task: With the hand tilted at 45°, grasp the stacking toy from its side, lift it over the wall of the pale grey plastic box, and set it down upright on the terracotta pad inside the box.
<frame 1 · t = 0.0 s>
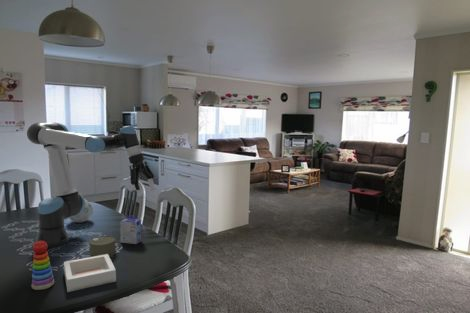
hand: (147, 193, 174), 28 cm above the table, tool tilted 20°, fingers open, 13 cm apart
ink cartridge box: (131, 242, 179), on the table
walled box: (89, 277, 139), on the table
stacking toy: (43, 286, 131), on the table
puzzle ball: (80, 222, 210), on the table
can: (102, 253, 163), on the table
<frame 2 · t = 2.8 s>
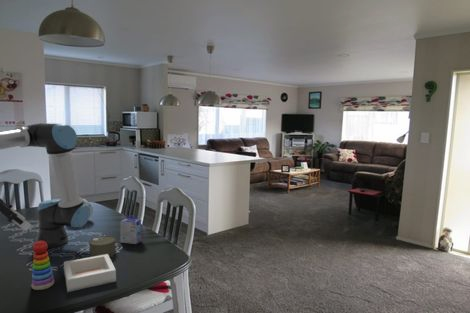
hand: (25, 224, 128), 25 cm above the table, tool tilted 40°, fingers open, 13 cm apart
nothing on the table moved.
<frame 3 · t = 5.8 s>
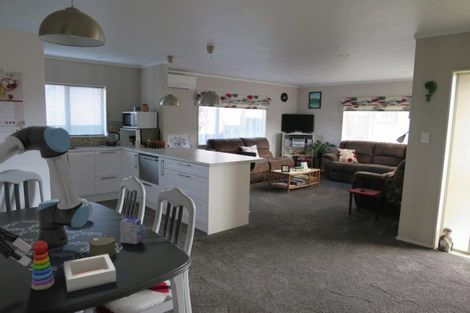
hand: (29, 256, 127), 14 cm above the table, tool tilted 45°, fingers open, 13 cm apart
nothing on the table moved.
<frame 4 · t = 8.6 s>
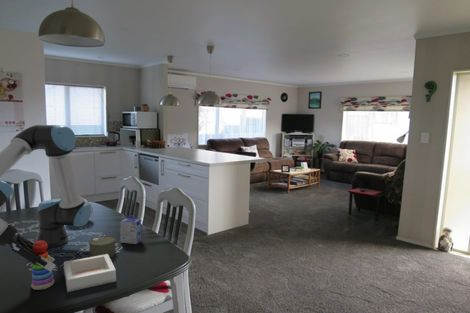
hand: (52, 265, 132), 8 cm above the table, tool tilted 45°, fingers closed on stacking toy, 6 cm apart
stacking toy: (43, 286, 131), on the table, touching gripper
everything else where it was.
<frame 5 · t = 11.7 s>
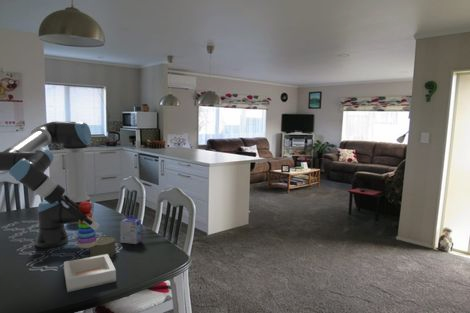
hand: (96, 225, 138), 22 cm above the table, tool tilted 45°, fingers closed on stacking toy, 6 cm apart
stacking toy: (87, 245, 137), point 14 cm above the table, touching gripper
everything else where it was.
when the fingers open (10 cm above the table, at t = 15.3 s): stacking toy drops 1 cm, resting on walled box.
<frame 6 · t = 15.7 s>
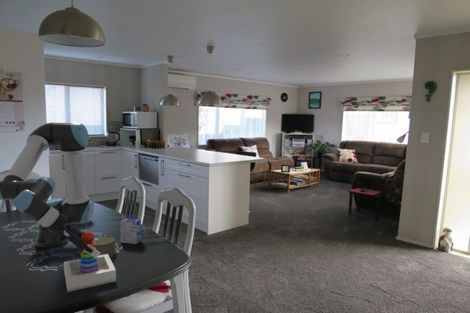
hand: (95, 250, 139), 11 cm above the table, tool tilted 45°, fingers open, 11 cm apart
stacking toy: (89, 274, 139), point 1 cm above the table, touching walled box
everything else where it was.
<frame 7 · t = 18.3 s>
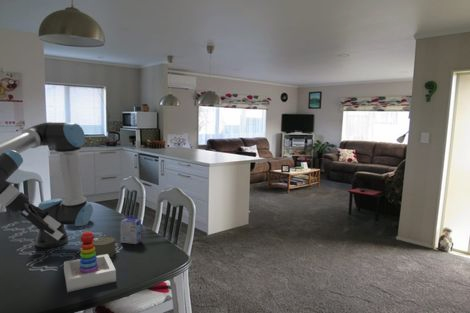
hand: (59, 231, 131), 22 cm above the table, tool tilted 45°, fingers open, 13 cm apart
nothing on the table moved.
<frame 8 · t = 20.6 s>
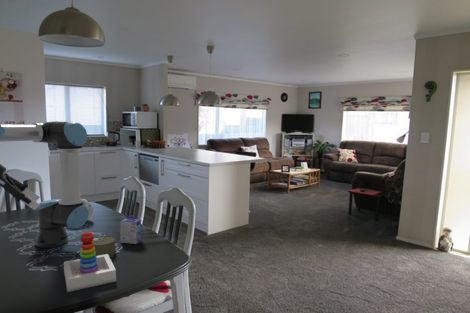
hand: (37, 203, 135), 32 cm above the table, tool tilted 45°, fingers open, 13 cm apart
nothing on the table moved.
at the end: stacking toy inside the target area on the walled box (0.3 cm from its centre), point 1.0 cm above the walled box's base; stacking toy tilted 0°; the gripper is holding nothing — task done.
